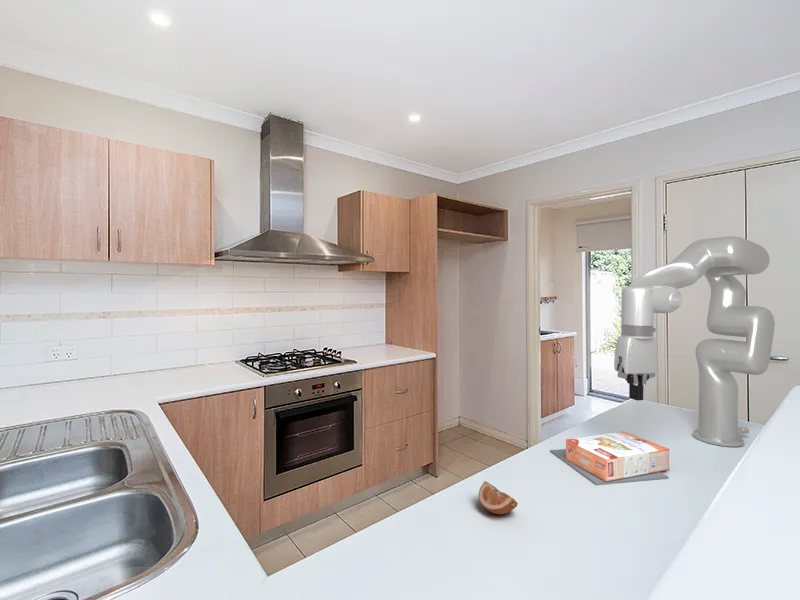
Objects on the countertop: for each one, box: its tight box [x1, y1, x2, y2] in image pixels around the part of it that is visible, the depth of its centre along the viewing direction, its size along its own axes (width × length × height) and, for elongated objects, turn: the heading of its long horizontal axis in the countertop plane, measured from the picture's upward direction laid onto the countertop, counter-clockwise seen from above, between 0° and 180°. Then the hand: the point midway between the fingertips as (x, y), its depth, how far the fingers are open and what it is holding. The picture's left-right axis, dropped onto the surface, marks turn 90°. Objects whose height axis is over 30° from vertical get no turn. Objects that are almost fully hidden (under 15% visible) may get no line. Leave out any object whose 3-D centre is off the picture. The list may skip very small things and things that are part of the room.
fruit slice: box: [478, 480, 519, 515], centre depth 82 cm, size 8×7×5 cm
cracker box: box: [565, 431, 670, 481], centre depth 104 cm, size 14×6×21 cm
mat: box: [549, 448, 669, 486], centre depth 106 cm, size 20×20×1 cm
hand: (636, 399), depth 107 cm, fingers closed
